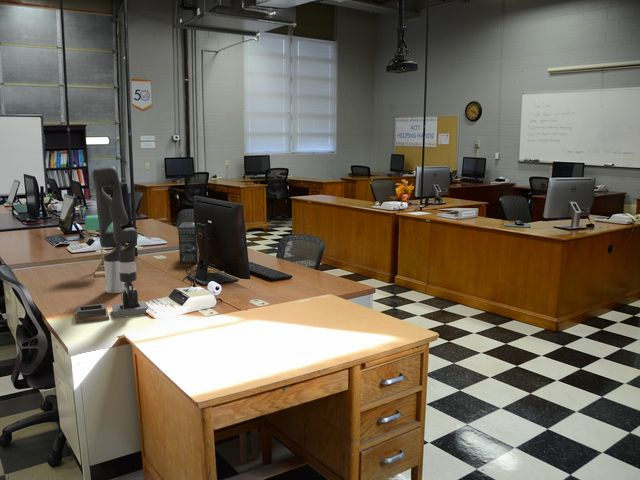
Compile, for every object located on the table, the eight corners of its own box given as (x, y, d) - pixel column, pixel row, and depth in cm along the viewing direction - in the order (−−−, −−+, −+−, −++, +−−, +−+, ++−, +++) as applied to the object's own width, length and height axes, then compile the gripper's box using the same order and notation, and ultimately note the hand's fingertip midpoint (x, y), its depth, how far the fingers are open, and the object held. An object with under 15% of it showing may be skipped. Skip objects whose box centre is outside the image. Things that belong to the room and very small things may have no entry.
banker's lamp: (117, 268, 354) (113, 212, 348) (116, 275, 335) (112, 217, 329) (90, 269, 350) (85, 213, 343) (87, 278, 330) (83, 218, 324)
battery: (136, 310, 271) (135, 287, 269) (139, 312, 268) (137, 288, 265) (121, 312, 267) (120, 289, 265) (124, 314, 264) (122, 291, 262)
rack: (74, 314, 264) (74, 305, 263) (106, 310, 269) (106, 301, 268) (75, 323, 251) (75, 314, 250) (109, 319, 257) (108, 310, 256)
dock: (112, 310, 269) (112, 304, 269) (145, 306, 276) (144, 300, 275) (114, 318, 259) (114, 311, 258) (148, 313, 265) (148, 307, 264)
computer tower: (183, 256, 388) (181, 219, 383) (201, 256, 390) (199, 218, 385) (179, 263, 366) (177, 224, 361) (197, 263, 368) (196, 224, 363)
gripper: (117, 268, 268) (120, 300, 271) (120, 274, 256) (123, 309, 259) (134, 266, 271) (136, 299, 274) (138, 273, 259) (140, 307, 262)
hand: (129, 303), depth 266 cm, fingers open, 8 cm apart
